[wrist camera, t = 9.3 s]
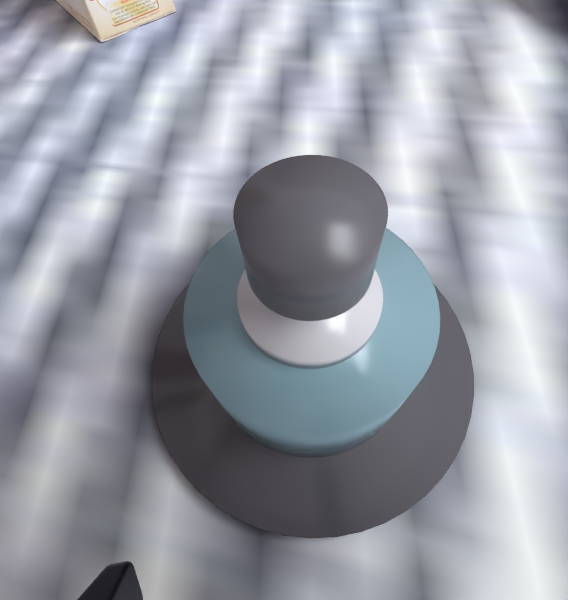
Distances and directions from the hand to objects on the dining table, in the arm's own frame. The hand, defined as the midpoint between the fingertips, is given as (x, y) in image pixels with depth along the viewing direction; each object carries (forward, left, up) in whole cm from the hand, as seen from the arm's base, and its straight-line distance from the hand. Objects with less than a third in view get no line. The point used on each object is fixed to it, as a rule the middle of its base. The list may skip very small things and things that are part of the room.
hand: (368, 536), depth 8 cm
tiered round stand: (+5, -4, -7) cm, 10 cm away
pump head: (+5, -4, -1) cm, 6 cm away
